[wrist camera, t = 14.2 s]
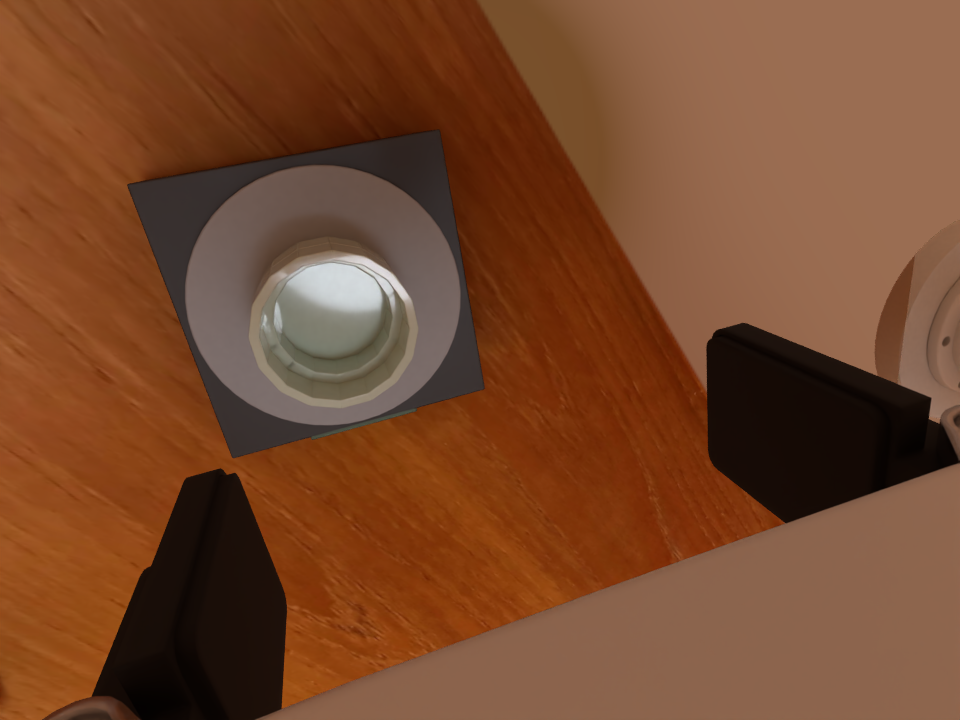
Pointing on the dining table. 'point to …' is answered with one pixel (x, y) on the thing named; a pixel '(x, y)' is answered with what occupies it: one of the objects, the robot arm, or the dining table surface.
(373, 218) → the scale
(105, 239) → the dining table surface
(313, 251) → the bowl
